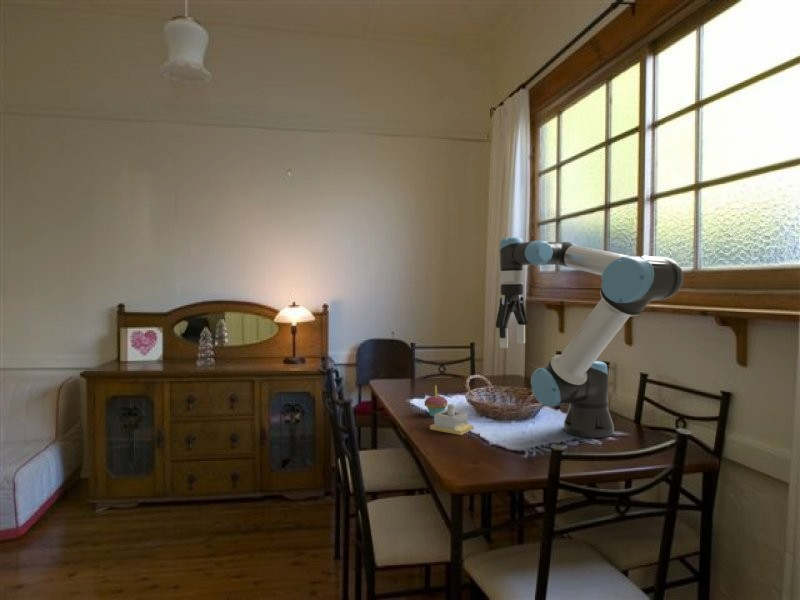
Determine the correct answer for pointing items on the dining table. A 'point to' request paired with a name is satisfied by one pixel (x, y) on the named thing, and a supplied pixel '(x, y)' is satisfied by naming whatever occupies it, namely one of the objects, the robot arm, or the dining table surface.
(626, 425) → the dining table surface
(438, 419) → the beige square box
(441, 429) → the keeper post
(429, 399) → the cupcake
